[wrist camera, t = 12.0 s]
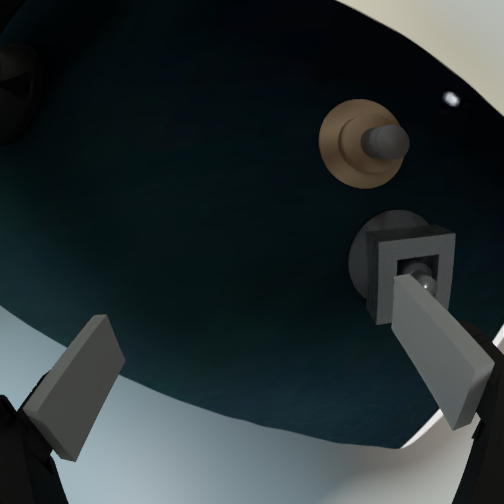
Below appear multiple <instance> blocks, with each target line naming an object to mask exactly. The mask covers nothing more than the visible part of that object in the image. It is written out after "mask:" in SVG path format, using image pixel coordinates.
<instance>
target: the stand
mask: <svg viewBox="0 0 504 504" xmlns="http://www.w3.org/2000/svg"><path fill="white" fill-rule="evenodd" d="M319 149H320V154H321V157H322V159H323V162H324V164H325V165H326V167H327V169H328V170H329V171H330V172H331V174H333V175H334V176H335V177H336V178H337V179H338V180H340V181H341V182H343V183H345V184H347V185H349V186H352V187H356V188H362V189H368V188H374V187H378V186H380V185H383V184H384V183H386V182H388V181H389V180H390V179H391V178H392V177H393V176H394V175H395V174H396V173H397V171H398V170H399V168H400V166H401V164H402V161H403V157H404V156H405V155H406V153H407V151H408V149H409V138H408V135H407V133H406V132H405V131H404V130H403V129H402V128H401V127H400V125H399V123H398V122H397V120H396V119H395V117H394V116H393V115H392V114H391V113H390V112H389V111H388V110H387V109H386V108H384V107H383V106H381V105H380V104H378V103H375V102H373V101H369V100H364V99H355V100H349V101H346V102H344V103H341V104H340V105H338V106H336V107H335V108H334V109H332V110H331V111H330V112H329V113H328V115H327V116H326V118H325V119H324V121H323V123H322V125H321V128H320V133H319Z"/></svg>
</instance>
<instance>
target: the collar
mask: <svg viewBox="0 0 504 504" xmlns="http://www.w3.org/2000/svg"><path fill="white" fill-rule="evenodd" d="M454 248H455V233H454V232H452V231H450V230H448V229H446V228H444V227H442V226H440V225H438V224H436V225H426V226H417V227H407V228H398V229H388V230H379V231H369V232H366V252H367V292H366V308H367V310H368V312H369V313H370V315H371V317H372V318H373V320H374V322H375V323H376V325H380V324H386V323H391V322H392V315H393V297H394V276H397V260H400V259H408V258H415V257H422V262H423V263H425V264H426V265H427V266H428V267H429V268H430V269H431V272H432V278H433V279H434V280H435V281H436V282H437V284H438V289H437V292H436V294H435V295H434V296H433V297H434V298H435V299H436V300H437V301H438V302H439V303H440V304H441V305H442V306H443V307H444V308H445V309H446V310H447V311H448V306H449V298H450V291H451V282H452V273H453V262H454Z"/></svg>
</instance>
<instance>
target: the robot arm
mask: <svg viewBox="0 0 504 504" xmlns="http://www.w3.org/2000/svg"><path fill="white" fill-rule="evenodd" d="M25 1H26V0H0V33H1V32H2V31H3V29H4V28H5V26H6V25H7V24H8V22H9V21H10V20H11V19H12V17H13V16H14V15H15V13H16V12H17V11H18V10H19V8H20V7H21V6H22V5H23V4H24V2H25ZM43 82H44V69H43V63H42V60H41V58H40V56H39V54H38V52H37V51H36V50H35V49H33V48H32V47H29V46H26V45H23V44H18V43H13V44H8V45H1V46H0V145H4V144H7V143H10V142H12V141H13V140H15V139H16V138H17V137H19V136H20V135H21V134H22V133H23V131H24V130H25V129H26V128H27V126H28V125H29V123H30V122H31V120H32V118H33V116H34V114H35V112H36V110H37V107H38V104H39V101H40V98H41V94H42V89H43ZM392 330H393V332H394V334H395V335H396V337H397V338H398V340H399V341H400V343H401V344H402V346H403V348H404V349H405V351H406V352H407V354H408V355H409V357H410V359H411V360H412V362H413V364H414V365H415V367H416V368H417V370H418V372H419V373H420V375H421V377H422V378H423V380H424V382H425V383H426V385H427V387H428V388H429V390H430V392H431V393H432V395H433V397H434V398H435V400H436V402H437V404H438V405H439V407H440V409H441V411H442V412H443V414H444V416H445V418H446V419H447V421H448V423H449V425H450V426H451V428H452V430H456V429H458V428H461V427H463V426H466V425H468V424H470V423H471V422H472V419H473V417H474V415H475V413H476V412H477V414H478V415H479V417H480V418H481V420H480V422H479V424H478V426H477V428H476V430H475V432H474V434H473V436H472V438H473V439H474V441H473V445H472V449H471V452H470V455H469V458H468V461H467V464H466V467H465V470H464V473H463V476H462V479H461V481H460V484H459V487H458V489H457V492H456V494H455V497H454V499H453V502H452V504H504V355H503V354H502V352H501V351H500V350H499V349H498V348H497V347H496V346H495V345H494V344H493V343H492V342H491V341H489V339H488V338H487V337H486V336H485V335H483V333H482V332H481V330H480V329H479V328H478V327H477V326H476V325H474V324H472V323H470V322H468V321H466V320H463V321H460V322H457V321H456V320H455V319H454V317H453V316H452V315H451V314H450V313H449V312H448V311H447V310H446V309H445V308H444V307H443V306H442V305H441V304H440V303H439V302H438V301H437V300H436V299H435V298H434V297H433V296H432V295H431V294H430V293H429V292H428V291H427V290H426V289H425V288H424V287H423V286H422V285H421V284H420V283H419V282H418V281H417V280H416V279H414V278H413V277H412V276H411V275H410V274H405V275H399V276H394V297H393V315H392ZM124 363H125V359H124V356H123V354H122V352H121V349H120V347H119V344H118V342H117V340H116V337H115V335H114V332H113V330H112V327H111V325H110V322H109V319H108V317H107V314H106V315H94V316H93V317H92V318H91V319H90V321H89V322H88V323H87V324H86V325H85V327H84V328H83V329H82V330H81V332H80V333H79V334H78V335H77V337H76V338H75V339H74V340H73V342H72V343H71V344H70V345H69V347H68V348H67V349H66V351H65V352H64V353H63V354H62V356H61V357H60V358H59V360H58V361H57V362H56V363H55V365H54V366H53V367H52V369H51V370H50V371H48V372H47V373H46V374H45V375H43V376H42V378H41V379H40V380H39V382H38V383H37V386H35V387H34V388H33V390H32V392H30V394H29V395H28V397H27V398H26V399H25V401H24V402H23V403H22V405H21V406H20V408H19V409H18V411H17V412H16V410H15V409H14V407H13V406H12V404H11V403H10V401H9V400H8V398H7V397H6V396H5V395H0V504H69V503H68V501H67V498H66V495H65V493H64V490H63V487H62V484H61V481H60V478H59V475H58V472H57V468H56V465H55V462H54V460H53V458H52V457H51V455H50V454H51V452H52V450H54V451H55V452H56V454H58V456H59V457H60V458H61V459H65V460H69V461H74V462H76V460H77V458H78V456H79V454H80V451H81V449H82V447H83V445H84V443H85V441H86V439H87V437H88V434H89V432H90V430H91V428H92V426H93V424H94V422H95V420H96V418H97V416H98V414H99V412H100V410H101V408H102V406H103V404H104V402H105V400H106V398H107V396H108V394H109V392H110V390H111V388H112V386H113V384H114V382H115V380H116V378H117V376H118V374H119V372H120V371H121V369H122V367H123V365H124Z"/></svg>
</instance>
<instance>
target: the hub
mask: <svg viewBox="0 0 504 504" xmlns="http://www.w3.org/2000/svg"><path fill="white" fill-rule="evenodd" d="M426 225H428V223H427V222H426V221H425V220H424V219H423V218H422V217H420V216H419V215H417V214H415V213H413V212H411V211H407V210H403V209H391V210H386V211H383V212H380V213H378V214H376V215H374V216H373V217H371V218H370V219H369V220H367V221H366V222H365V223H364V224H363V225H362V226H361V227H360V229H359V230H358V231H357V233H356V235H355V236H354V238H353V240H352V243H351V245H350V249H349V253H348V272H349V276H350V279H351V281H352V283H353V285H354V287H355V288H356V290H357V291H358V292H359V293H360V294H361V295H362V296H363V297H364V298H366V292H367V252H366V232H369V231H379V230H388V229H398V228H407V227H417V226H426ZM405 274H410V275H411V276H412V277H413V278H414V279H416V280H417V281H418V282H419V283H420V284H421V285H422V286H423V287H424V288H425V289H426V290H427V291H428V292H429V293H430V294H431V295H432V296H434V295H435V294H436V292H437V289H438V284H437V282H436V281H435V280H434V279H433V278H432V272H431V269H430V268H429V267H428V266H427V265H426V264H425V263H423V262H422V257H415V258H408V259H400V260H397V276H399V275H405Z"/></svg>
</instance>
